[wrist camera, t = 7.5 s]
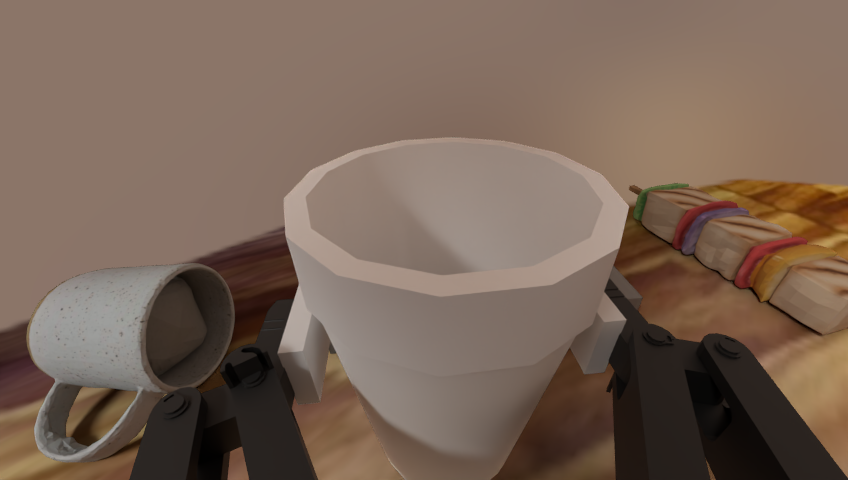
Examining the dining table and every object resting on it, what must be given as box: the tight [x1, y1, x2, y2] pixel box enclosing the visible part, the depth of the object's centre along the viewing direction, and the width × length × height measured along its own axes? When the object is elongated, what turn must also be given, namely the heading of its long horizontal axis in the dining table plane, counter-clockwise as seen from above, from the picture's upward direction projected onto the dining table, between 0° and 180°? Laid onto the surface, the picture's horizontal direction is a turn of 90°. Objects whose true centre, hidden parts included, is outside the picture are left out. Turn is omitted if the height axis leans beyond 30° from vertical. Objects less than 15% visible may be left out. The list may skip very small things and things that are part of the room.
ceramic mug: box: [26, 263, 235, 462], centre depth 20 cm, size 11×8×8 cm
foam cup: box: [284, 137, 629, 480], centre depth 14 cm, size 10×9×13 cm
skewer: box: [629, 183, 848, 335], centre depth 31 cm, size 21×6×5 cm, turn 14°
